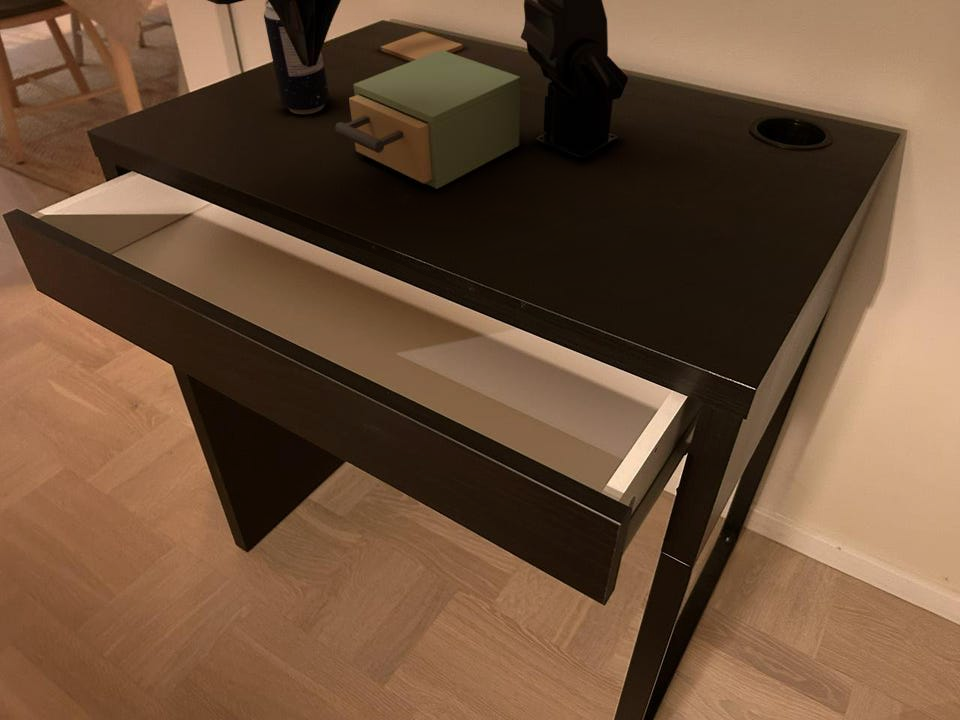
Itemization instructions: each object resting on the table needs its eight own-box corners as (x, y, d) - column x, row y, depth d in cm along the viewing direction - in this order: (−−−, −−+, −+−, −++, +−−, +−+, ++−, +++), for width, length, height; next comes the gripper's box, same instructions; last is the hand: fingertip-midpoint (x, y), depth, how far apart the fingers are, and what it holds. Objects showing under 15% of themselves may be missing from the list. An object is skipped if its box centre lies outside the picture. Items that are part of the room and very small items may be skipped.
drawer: (394, 198, 72) (389, 142, 68) (327, 164, 77) (318, 110, 73) (501, 143, 80) (501, 90, 76) (433, 115, 85) (430, 65, 81)
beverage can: (335, 97, 92) (319, -7, 84) (323, 117, 87) (305, 9, 79) (290, 96, 92) (270, -8, 84) (276, 116, 88) (254, 8, 80)
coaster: (462, 48, 103) (462, 44, 103) (420, 65, 99) (420, 61, 98) (423, 35, 107) (422, 31, 107) (380, 51, 103) (380, 46, 103)
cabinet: (436, 189, 75) (432, 116, 70) (361, 153, 81) (352, 84, 76) (519, 145, 82) (520, 76, 76) (444, 115, 87) (441, 49, 82)
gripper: (311, -170, 64) (330, 20, 75) (107, -151, 54) (162, 68, 64) (402, -155, 59) (409, 48, 69) (196, -130, 48) (240, 105, 59)
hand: (309, 65), depth 65 cm, fingers closed
